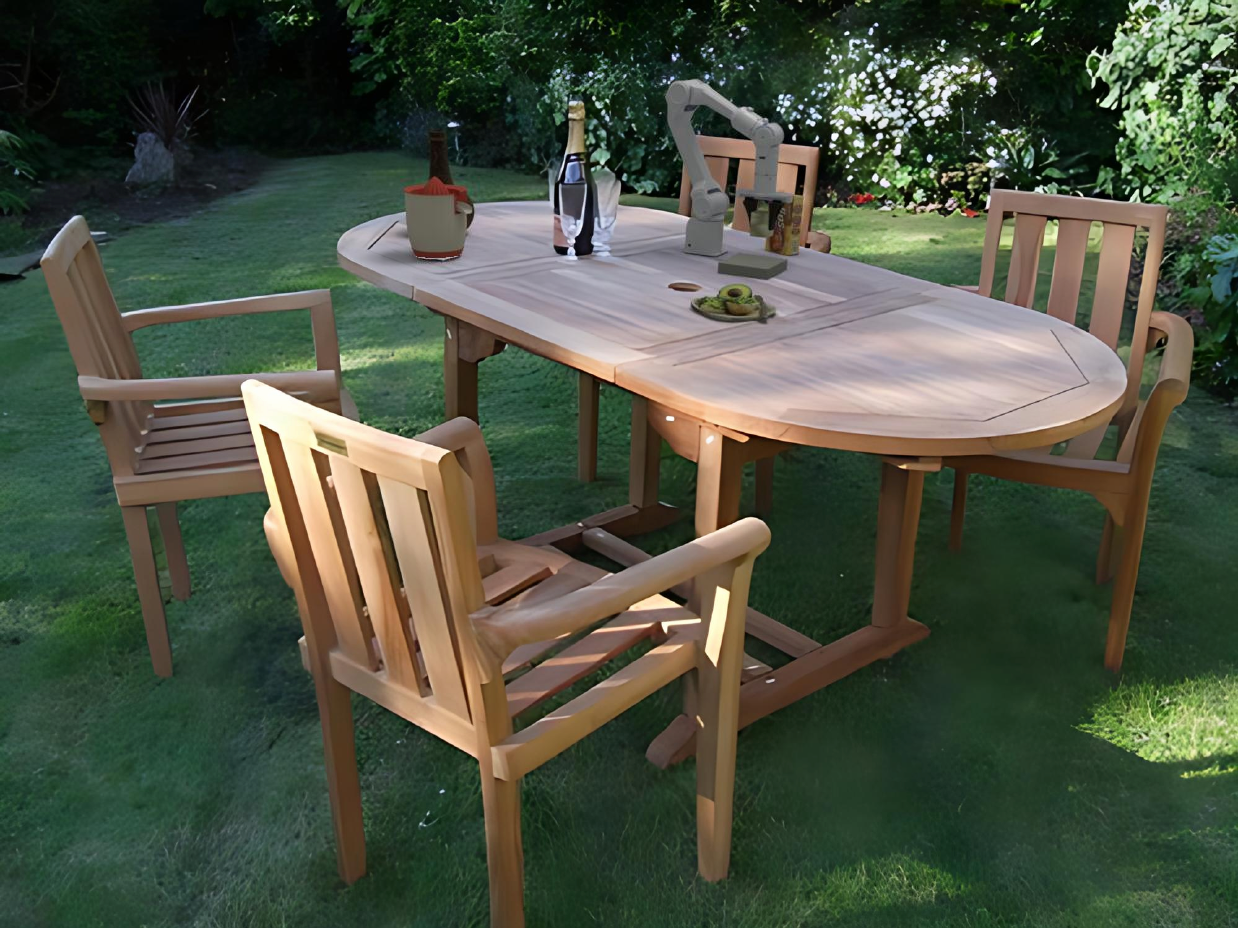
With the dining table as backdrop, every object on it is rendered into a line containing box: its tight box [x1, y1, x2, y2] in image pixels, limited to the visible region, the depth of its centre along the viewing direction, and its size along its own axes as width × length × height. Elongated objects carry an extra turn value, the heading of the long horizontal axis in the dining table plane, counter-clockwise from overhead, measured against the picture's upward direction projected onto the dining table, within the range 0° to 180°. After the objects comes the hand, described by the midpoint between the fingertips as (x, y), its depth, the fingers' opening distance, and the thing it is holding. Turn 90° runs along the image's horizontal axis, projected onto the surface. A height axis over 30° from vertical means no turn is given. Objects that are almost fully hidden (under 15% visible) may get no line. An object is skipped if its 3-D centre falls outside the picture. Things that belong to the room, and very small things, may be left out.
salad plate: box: [690, 283, 777, 323], centre depth 238 cm, size 19×18×5 cm
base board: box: [717, 252, 788, 280], centre depth 275 cm, size 13×13×2 cm
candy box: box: [764, 191, 805, 256], centre depth 293 cm, size 9×4×15 cm, turn 39°
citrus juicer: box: [402, 177, 472, 258], centre depth 279 cm, size 16×17×20 cm
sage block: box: [749, 209, 773, 239], centre depth 283 cm, size 4×4×6 cm
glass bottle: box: [425, 129, 475, 230], centre depth 304 cm, size 18×18×28 cm
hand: (761, 228), depth 283 cm, fingers closed on sage block, 4 cm apart
